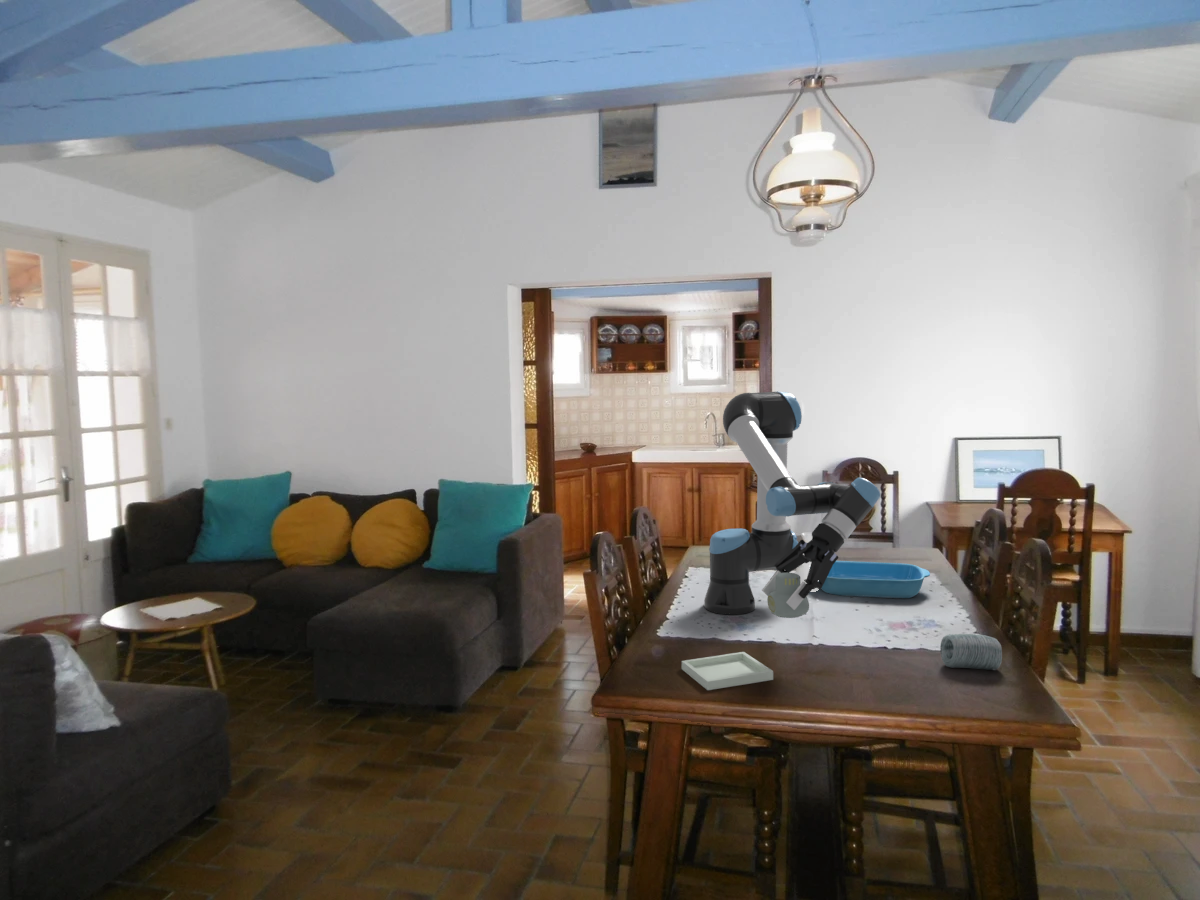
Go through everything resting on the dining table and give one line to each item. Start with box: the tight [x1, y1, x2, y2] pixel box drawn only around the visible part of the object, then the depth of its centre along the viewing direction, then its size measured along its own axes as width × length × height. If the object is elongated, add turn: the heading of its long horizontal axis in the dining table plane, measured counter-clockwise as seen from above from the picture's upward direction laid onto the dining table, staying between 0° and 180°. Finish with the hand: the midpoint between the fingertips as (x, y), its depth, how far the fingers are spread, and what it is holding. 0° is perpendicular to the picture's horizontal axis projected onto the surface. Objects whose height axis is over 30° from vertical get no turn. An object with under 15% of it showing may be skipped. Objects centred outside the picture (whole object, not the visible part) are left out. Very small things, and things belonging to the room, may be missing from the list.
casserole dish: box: [821, 560, 931, 599], centre depth 265 cm, size 37×22×7 cm, turn 75°
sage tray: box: [681, 651, 774, 691], centre depth 196 cm, size 14×17×2 cm
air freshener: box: [766, 572, 810, 619], centre depth 203 cm, size 11×8×10 cm
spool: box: [940, 633, 1003, 671], centre depth 197 cm, size 14×10×10 cm
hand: (777, 599), depth 202 cm, fingers closed on air freshener, 11 cm apart
